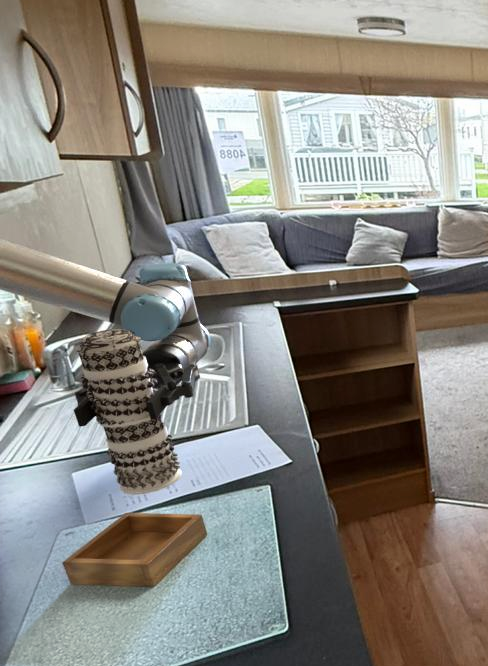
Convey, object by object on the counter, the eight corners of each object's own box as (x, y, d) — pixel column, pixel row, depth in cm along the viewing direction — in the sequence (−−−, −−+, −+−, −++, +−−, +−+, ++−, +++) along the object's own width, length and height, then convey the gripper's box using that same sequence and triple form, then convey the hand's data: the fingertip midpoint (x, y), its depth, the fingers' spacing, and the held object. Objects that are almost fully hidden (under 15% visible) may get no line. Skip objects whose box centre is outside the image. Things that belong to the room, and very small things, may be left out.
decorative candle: (108, 500, 100) (55, 347, 90) (127, 472, 108) (80, 328, 98) (176, 490, 102) (131, 340, 93) (190, 462, 111) (149, 322, 101)
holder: (70, 584, 97) (61, 562, 95) (132, 532, 109) (125, 512, 107) (154, 586, 96) (147, 564, 95) (207, 534, 108) (202, 514, 107)
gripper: (236, 376, 120) (202, 428, 100) (103, 388, 115) (39, 446, 95) (227, 338, 117) (190, 383, 97) (90, 348, 112) (21, 399, 92)
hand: (115, 414), depth 96 cm, fingers closed on decorative candle, 8 cm apart
